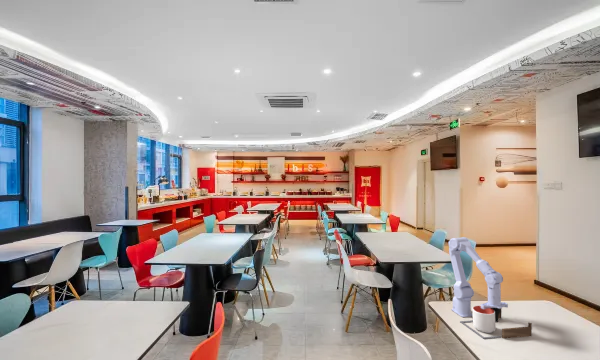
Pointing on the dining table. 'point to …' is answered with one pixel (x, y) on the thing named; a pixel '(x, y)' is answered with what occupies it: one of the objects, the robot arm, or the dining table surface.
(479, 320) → the cup
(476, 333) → the bracket
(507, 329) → the wooden pieces
